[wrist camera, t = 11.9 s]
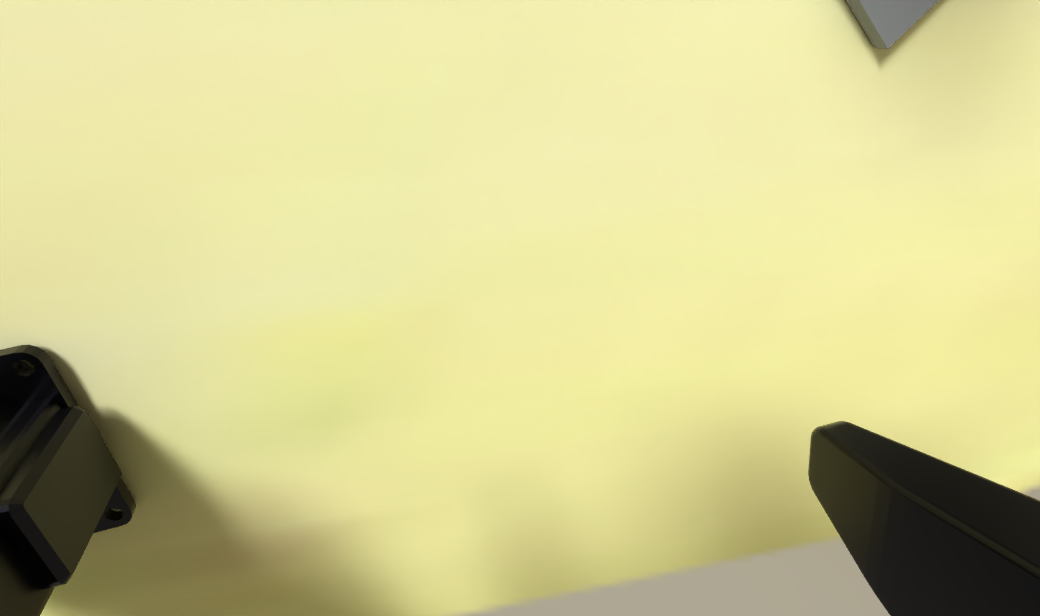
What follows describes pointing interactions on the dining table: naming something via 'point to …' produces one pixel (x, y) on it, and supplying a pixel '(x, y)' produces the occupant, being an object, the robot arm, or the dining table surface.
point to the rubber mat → (888, 18)
